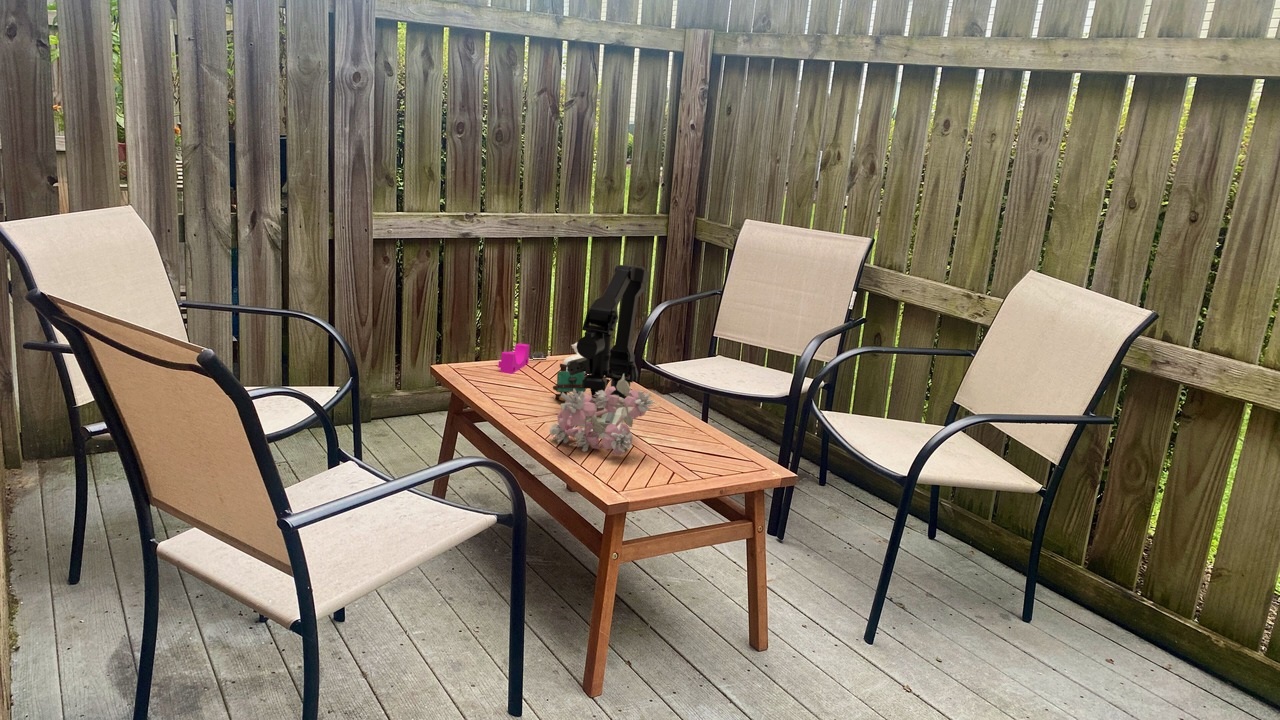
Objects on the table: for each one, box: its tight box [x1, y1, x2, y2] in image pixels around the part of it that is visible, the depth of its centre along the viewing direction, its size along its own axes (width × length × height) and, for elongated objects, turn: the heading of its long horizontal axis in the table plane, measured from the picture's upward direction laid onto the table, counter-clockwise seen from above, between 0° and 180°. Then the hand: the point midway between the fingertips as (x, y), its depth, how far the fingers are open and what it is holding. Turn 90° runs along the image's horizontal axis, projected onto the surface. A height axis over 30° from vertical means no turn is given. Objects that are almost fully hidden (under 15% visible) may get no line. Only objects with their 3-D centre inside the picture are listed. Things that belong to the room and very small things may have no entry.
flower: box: [549, 374, 655, 456], centre depth 241 cm, size 20×22×25 cm
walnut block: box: [591, 396, 604, 418], centre depth 264 cm, size 5×5×4 cm
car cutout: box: [529, 351, 547, 362], centre depth 322 cm, size 15×7×4 cm, turn 120°
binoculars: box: [552, 363, 587, 402], centre depth 279 cm, size 9×11×10 cm
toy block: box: [498, 342, 530, 375], centre depth 308 cm, size 15×6×8 cm, turn 167°
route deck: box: [557, 391, 624, 440], centre depth 262 cm, size 25×16×5 cm, turn 176°
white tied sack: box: [562, 341, 590, 375], centre depth 308 cm, size 12×8×11 cm, turn 114°
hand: (595, 405), depth 268 cm, fingers closed
